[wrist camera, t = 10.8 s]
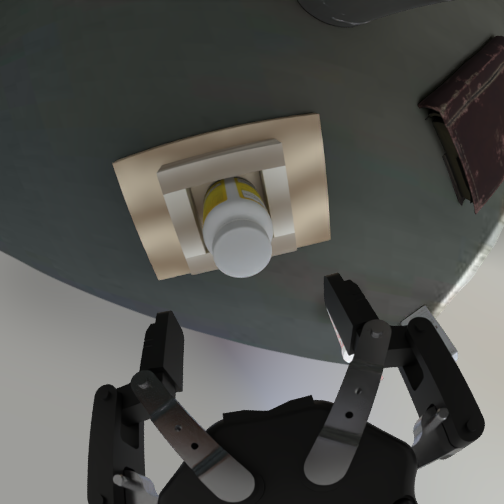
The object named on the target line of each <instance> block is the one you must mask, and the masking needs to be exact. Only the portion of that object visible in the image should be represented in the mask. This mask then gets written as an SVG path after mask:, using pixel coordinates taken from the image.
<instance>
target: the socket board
mask: <svg viewBox="0 0 504 504" xmlns="http://www.w3.org/2000/svg"><path fill="white" fill-rule="evenodd" d="M113 167H114V170H115V173H116V176H117V179H118V181H119V184H120V187H121V190H122V193H123V195H124V198H125V201H126V203H127V206H128V209H129V211H130V214H131V216H132V219H133V222H134V224H135V227H136V229H137V231H138V234H139V236H140V239H141V241H142V243H143V246H144V248H145V251H146V253H147V255H148V257H149V260H150V262H151V264H152V266H153V269H154V271H155V273H156V275H157V277H158V279H159V280H162V279H167V278H171V277H175V276H180V275H184V274H188V273H191V274H192V275H195V274H199V273H203V272H208V271H212V270H216V269H219V268H218V267H217V266H216V264H215V262H214V259H213V255H212V254H211V253H210V252H209V250H208V249H207V247H206V245H205V242H204V238H203V202H204V196H205V193H206V191H207V189H208V188H209V186H210V185H211V184H212V183H213V182H215V181H217V180H221V179H225V178H229V177H234V176H239V177H243V178H245V179H247V180H248V181H250V182H251V183H252V184H253V185H254V187H255V188H256V189H257V191H258V193H259V195H260V197H261V199H262V201H263V203H264V205H265V207H266V209H267V211H268V213H269V215H270V218H271V221H272V225H273V238H272V241H271V246H272V255H271V256H275V255H280V254H284V253H288V252H292V251H296V250H297V248H298V247H302V246H306V245H311V244H315V243H319V242H323V241H327V240H331V238H330V219H329V204H328V190H327V179H326V168H325V158H324V149H323V141H322V133H321V125H320V118H319V114H316V113H310V114H302V115H294V116H287V117H281V118H274V119H268V120H263V121H257V122H252V123H247V124H242V125H237V126H232V127H228V128H223V129H219V130H215V131H211V132H207V133H203V134H199V135H195V136H191V137H188V138H184V139H180V140H177V141H173V142H170V143H167V144H163V145H160V146H157V147H154V148H151V149H148V150H145V151H142V152H139V153H136V154H133V155H130V156H127V157H125V158H122V159H119V160H117V161H116V162H114V163H113Z"/></svg>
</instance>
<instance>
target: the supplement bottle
mask: <svg viewBox="0 0 504 504" xmlns="http://www.w3.org/2000/svg"><path fill="white" fill-rule="evenodd" d="M203 238H204V242H205V245H206V247H207V249H208V250H209V252H210V253H211V254H212V255H213V259H214V262H215V264H216V266H217V267H218V268H219V269H220V270H221V271H222V272H223V273H225V274H227V275H229V276H232V277H238V278H244V277H249V276H252V275H255V274H257V273H259V272H260V271H261V270H263V269H264V268H265V267H266V265H267V264H268V262H269V261H270V258H271V255H272V246H271V241H272V238H273V225H272V221H271V218H270V215H269V213H268V211H267V209H266V207H265V205H264V203H263V201H262V199H261V197H260V195H259V193H258V191H257V189H256V188H255V187H254V185H253V184H252V183H251V182H250V181H248V180H247V179H245V178H243V177H239V176H234V177H229V178H225V179H221V180H217V181H215V182H213V183H212V184H211V185H210V186H209V188H208V189H207V191H206V193H205V196H204V202H203Z"/></svg>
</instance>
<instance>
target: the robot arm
mask: <svg viewBox="0 0 504 504" xmlns="http://www.w3.org/2000/svg"><path fill="white" fill-rule="evenodd" d="M297 1H298V2H299V3H300V4H301V6H302V7H303V8H304V9H305V10H306V11H308V12H309V13H310V14H311V15H313V16H314V17H316V18H317V19H319V20H321V21H323V22H325V23H328V24H331V25H334V26H339V27H353V26H357V25H361V24H364V23H367V22H370V21H372V20H375V19H378V18H382V17H385V16H388V15H391V14H395V13H398V12H402V11H406V10H409V9H413V8H417V7H422V6H426V5H431V4H436V3H442V2H447V1H453V0H297ZM324 300H325V305H326V308H327V310H328V312H329V314H330V316H331V318H332V321H333V323H334V325H335V327H336V329H337V331H338V333H339V336H340V338H341V340H342V342H343V344H344V346H345V349H346V351H347V353H348V355H349V356H350V355H353V354H354V357H353V359H352V361H351V362H350V364H349V367H348V369H347V372H346V375H345V377H344V380H343V382H342V385H341V387H340V390H339V392H338V395H337V397H336V399H335V402H334V403H332V402H329V401H323V400H313V398H312V395H310V396H306V397H302V398H298V399H294V400H290V401H288V402H286V403H284V404H282V405H280V406H278V407H276V408H273V409H271V410H269V411H254V410H252V411H251V410H242V411H236V412H229V413H223V420H220V421H218V422H216V423H215V424H213V425H212V426H211V427H209V428H208V429H207V430H206V431H205V430H204V429H203V428H202V427H201V426H200V425H199V424H198V423H197V422H196V421H195V419H194V418H193V417H192V416H190V414H189V413H188V412H187V411H186V410H185V409H184V408H183V407H182V406H181V405H180V403H179V402H178V401H177V400H176V399H175V395H176V394H175V393H176V392H182V391H183V353H184V335H183V332H182V329H181V327H180V325H179V323H178V322H177V320H176V318H175V316H174V314H173V312H172V311H165V312H160V313H157V315H156V322H155V323H154V324H151V325H150V326H149V328H148V329H147V331H146V334H145V339H144V340H145V341H144V346H143V347H144V348H143V351H142V358H141V364H140V371H139V372H138V373H136V374H135V375H134V376H133V378H132V379H131V382H130V383H129V384H127V385H125V386H122V387H119V388H117V389H116V388H115V387H114V386H113V385H110V384H107V385H103V386H101V387H100V388H99V389H98V390H97V392H96V394H95V398H94V404H93V412H92V421H91V429H90V440H89V455H88V480H87V481H88V482H87V483H88V484H87V485H88V486H87V498H88V503H89V504H418V503H417V501H416V498H415V494H414V484H415V477H416V472H417V470H418V469H419V468H422V467H424V466H426V465H428V464H430V463H432V462H434V461H436V460H438V459H447V458H449V457H451V456H452V455H454V454H455V453H457V452H459V451H460V450H462V449H463V448H465V447H466V446H468V445H469V444H471V443H472V442H474V441H475V440H477V439H478V438H479V437H480V436H481V435H482V433H483V431H484V426H485V422H484V418H483V416H482V414H481V411H480V409H479V407H478V405H477V403H476V401H475V399H474V397H473V395H472V392H471V390H470V388H469V387H468V385H467V383H466V381H465V379H464V377H463V375H462V373H461V371H460V369H459V368H458V366H457V364H456V363H455V360H454V359H453V357H452V355H451V353H450V352H449V350H448V348H447V347H446V345H445V343H444V342H443V340H442V338H441V337H440V335H439V333H438V332H437V330H436V329H435V327H434V325H433V324H432V322H431V321H430V320H428V319H427V318H424V317H415V318H413V319H411V320H410V321H409V323H408V325H404V326H390V325H389V324H388V323H387V322H385V321H383V320H379V318H378V317H377V315H376V313H375V312H374V310H373V309H372V307H371V305H370V304H369V302H368V301H367V299H366V298H365V296H364V294H363V293H362V291H361V290H360V288H359V287H358V285H357V284H355V283H354V282H352V281H351V280H347V281H344V280H343V279H342V277H341V276H340V274H339V273H334V274H331V275H327V276H324ZM388 367H398V368H399V371H400V373H401V375H402V377H403V379H404V382H405V384H406V386H407V388H408V391H409V393H410V396H411V398H412V401H413V403H414V405H415V408H416V410H417V413H418V415H419V419H418V421H417V422H416V423H415V425H414V431H413V432H414V443H413V445H412V447H410V446H409V445H408V444H407V443H406V442H404V441H402V440H400V439H398V438H396V437H394V436H392V435H390V434H389V433H387V432H385V431H383V430H381V429H379V428H377V427H376V426H374V425H372V424H370V423H368V422H367V420H368V417H369V414H370V411H371V408H372V405H373V402H374V399H375V396H376V393H377V390H378V386H379V383H380V379H381V376H382V372H383V368H388ZM148 419H151V421H152V422H153V423H154V425H155V426H156V427H157V429H158V430H159V431H160V433H161V434H162V435H163V436H164V438H165V439H166V440H167V441H168V443H169V444H170V445H171V446H172V447H173V448H174V450H175V451H176V452H177V453H178V454H179V456H180V457H181V458H182V459H183V460H184V462H183V463H182V464H181V466H180V467H179V469H178V470H177V471H176V473H175V474H174V475H173V477H172V478H171V479H170V480H169V482H168V483H167V484H166V486H165V487H164V488H163V490H162V491H161V492H160V494H159V495H157V493H156V491H155V488H154V484H153V483H152V481H151V480H150V479H149V478H147V477H145V464H144V463H145V462H144V421H145V420H148Z"/></svg>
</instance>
